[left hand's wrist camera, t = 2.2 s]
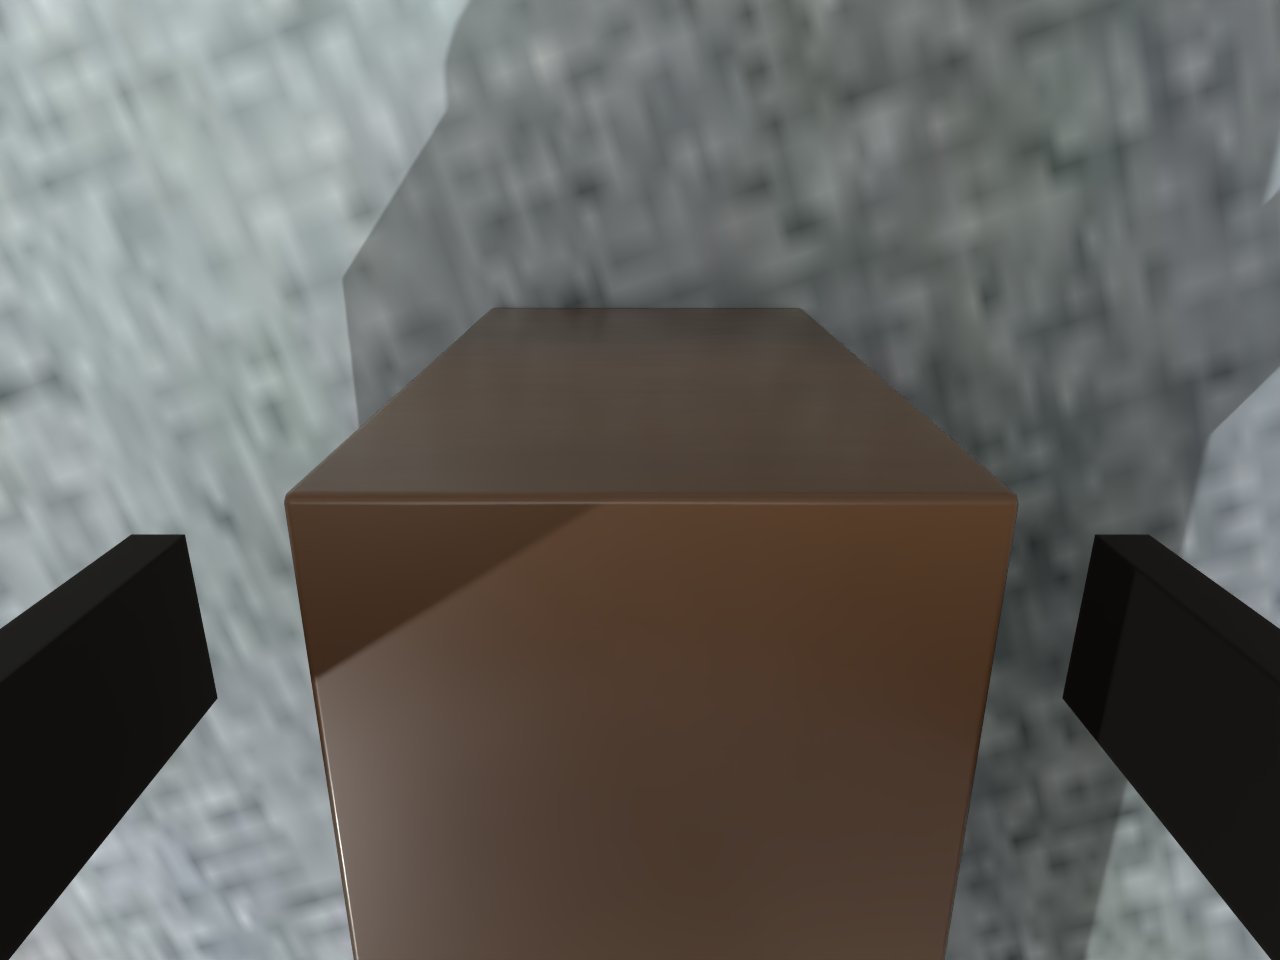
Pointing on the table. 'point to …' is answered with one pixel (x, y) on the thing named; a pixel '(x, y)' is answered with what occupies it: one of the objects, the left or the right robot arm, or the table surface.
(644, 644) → the bar
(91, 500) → the table surface
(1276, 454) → the table surface
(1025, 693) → the table surface
